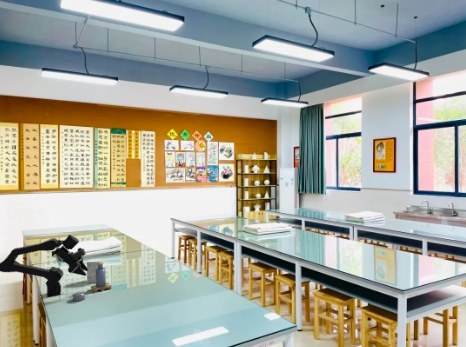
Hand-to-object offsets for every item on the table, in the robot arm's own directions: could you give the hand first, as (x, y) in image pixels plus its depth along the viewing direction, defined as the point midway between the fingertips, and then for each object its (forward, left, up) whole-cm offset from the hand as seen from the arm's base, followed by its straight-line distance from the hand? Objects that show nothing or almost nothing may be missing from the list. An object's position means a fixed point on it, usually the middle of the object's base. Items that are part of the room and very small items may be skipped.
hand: (86, 272), depth 202 cm
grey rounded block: (-7, -11, -10) cm, 17 cm away
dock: (+7, -2, -10) cm, 13 cm away
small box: (+8, +16, -11) cm, 21 cm away
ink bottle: (+7, -2, -8) cm, 11 cm away
